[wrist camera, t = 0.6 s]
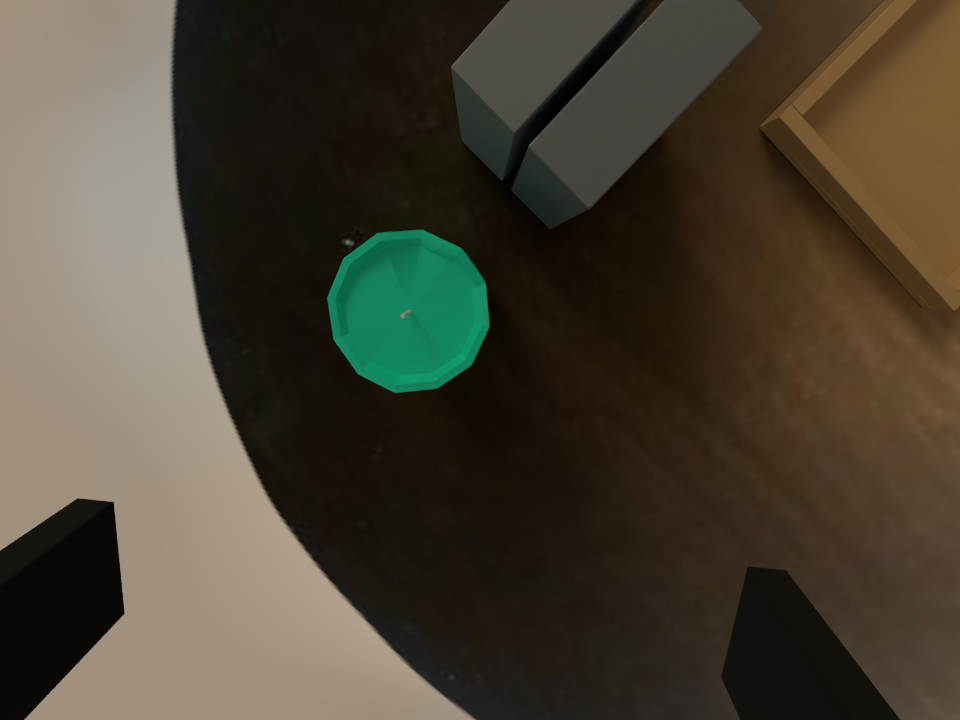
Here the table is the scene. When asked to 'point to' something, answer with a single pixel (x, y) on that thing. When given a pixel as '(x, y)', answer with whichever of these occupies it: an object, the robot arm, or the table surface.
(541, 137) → the grey book
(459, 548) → the table surface
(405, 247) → the candle
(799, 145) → the tray
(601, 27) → the grey book
